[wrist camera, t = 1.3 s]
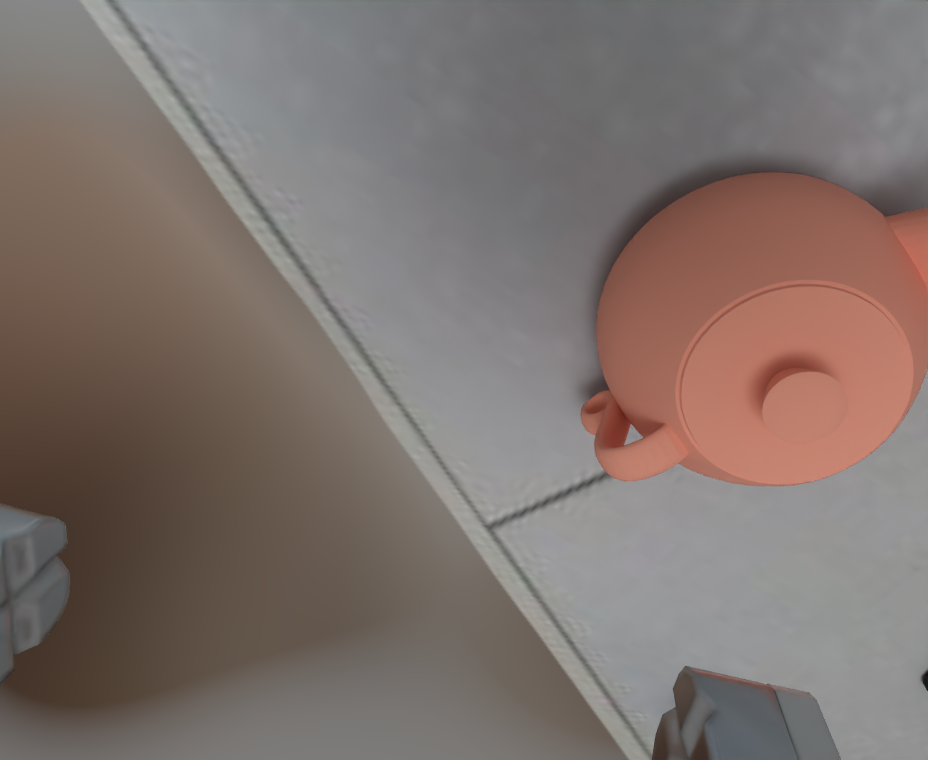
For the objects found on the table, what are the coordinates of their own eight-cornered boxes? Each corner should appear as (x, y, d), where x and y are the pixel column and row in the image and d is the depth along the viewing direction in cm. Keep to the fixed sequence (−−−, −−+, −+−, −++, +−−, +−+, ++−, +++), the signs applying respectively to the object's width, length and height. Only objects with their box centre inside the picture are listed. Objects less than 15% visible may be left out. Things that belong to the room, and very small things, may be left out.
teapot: (893, 42, 33) (1058, 27, 22) (1027, 306, 37) (1228, 411, 26) (509, 299, 41) (484, 387, 29) (653, 496, 44) (680, 642, 33)
